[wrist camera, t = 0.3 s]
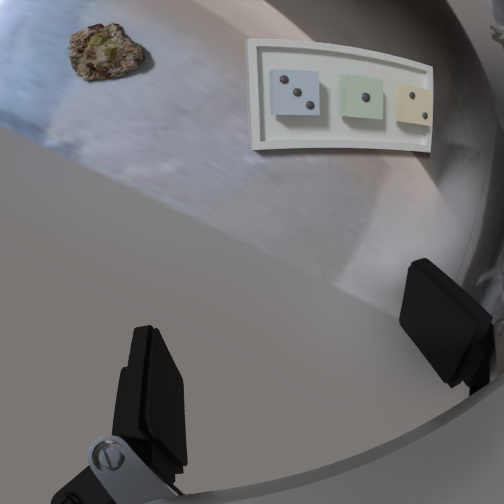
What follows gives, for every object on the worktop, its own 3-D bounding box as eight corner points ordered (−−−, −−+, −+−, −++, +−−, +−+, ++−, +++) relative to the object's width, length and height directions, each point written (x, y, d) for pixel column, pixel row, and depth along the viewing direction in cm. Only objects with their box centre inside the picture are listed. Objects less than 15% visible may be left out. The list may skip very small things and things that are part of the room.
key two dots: (395, 83, 32) (404, 84, 30) (423, 90, 33) (432, 90, 31) (395, 120, 35) (404, 122, 33) (422, 124, 35) (431, 126, 33)
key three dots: (268, 71, 30) (273, 69, 28) (312, 72, 30) (319, 71, 28) (270, 114, 32) (274, 115, 30) (313, 114, 33) (320, 115, 31)
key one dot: (338, 75, 31) (346, 74, 29) (374, 80, 32) (383, 79, 30) (339, 115, 33) (347, 116, 31) (374, 118, 34) (383, 119, 32)
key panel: (244, 42, 29) (247, 38, 27) (424, 66, 33) (432, 66, 31) (249, 147, 36) (252, 150, 34) (422, 149, 39) (430, 152, 38)
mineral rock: (52, 77, 24) (71, 17, 20) (67, 71, 28) (85, 16, 23) (126, 95, 28) (151, 33, 24) (136, 88, 31) (159, 32, 27)
